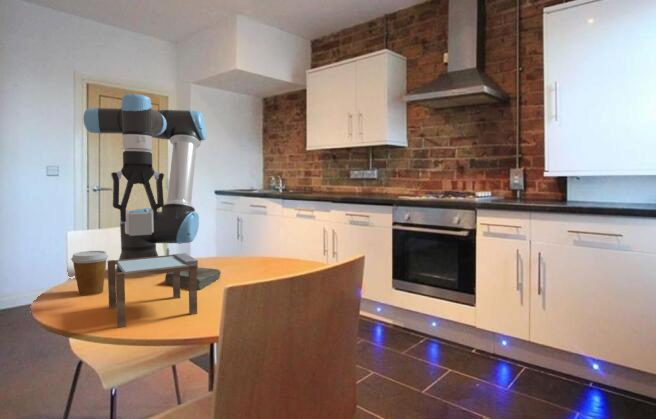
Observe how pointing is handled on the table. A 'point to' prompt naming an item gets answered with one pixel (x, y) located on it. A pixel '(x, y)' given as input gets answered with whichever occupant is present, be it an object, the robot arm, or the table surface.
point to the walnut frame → (118, 283)
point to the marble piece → (203, 277)
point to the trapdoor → (157, 263)
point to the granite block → (140, 223)
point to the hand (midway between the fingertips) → (139, 232)
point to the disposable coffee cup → (90, 271)
